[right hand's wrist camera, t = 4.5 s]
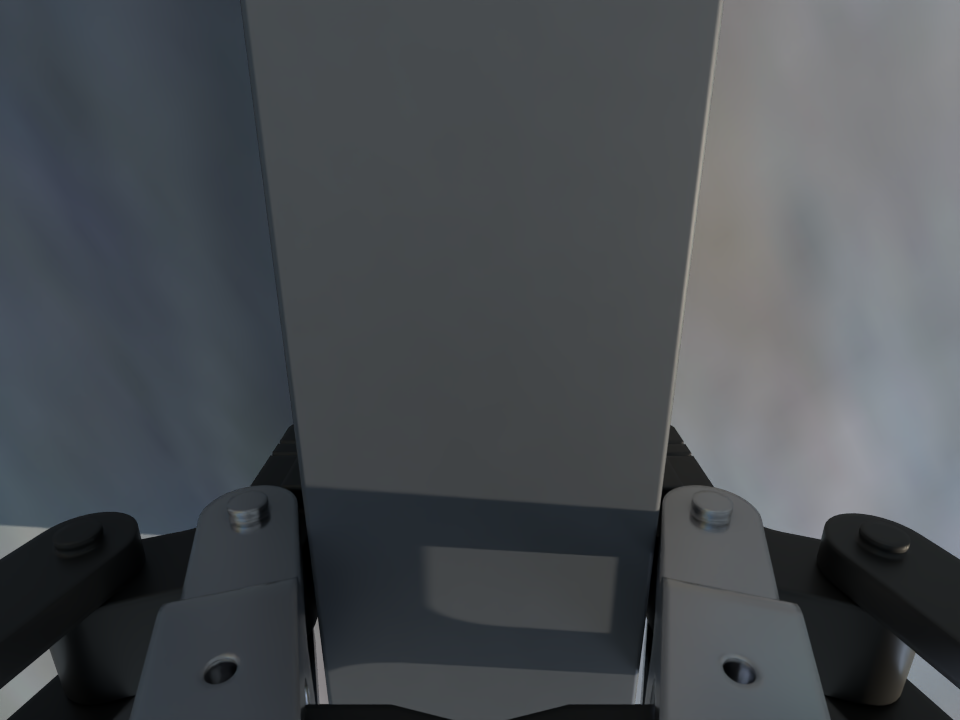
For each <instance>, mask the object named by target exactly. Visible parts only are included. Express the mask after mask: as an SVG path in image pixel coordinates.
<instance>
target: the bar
mask: <svg viewBox="0 0 960 720" xmlns="http://www.w3.org/2000/svg"><path fill="white" fill-rule="evenodd" d="M240 3H241V11H242V19H243V27H244V35H245V43H246V50H247V58H248V66H249V74H250V82H251V90H252V98H253V106H254V114H255V122H256V130H257V138H258V146H259V154H260V162H261V169H262V177H263V185H264V193H265V201H266V209H267V217H268V225H269V233H270V241H271V249H272V257H273V265H274V273H275V280H276V288H277V296H278V304H279V312H280V320H281V328H282V336H283V344H284V352H285V360H286V368H287V376H288V384H289V392H290V399H291V407H292V415H293V423H294V431H295V439H296V447H297V455H298V463H299V471H300V479H301V487H302V495H303V503H304V511H305V518H306V526H307V534H308V542H309V550H310V558H311V566H312V574H313V582H314V590H315V598H316V606H317V614H318V622H319V629H320V637H321V645H322V653H323V661H324V669H325V677H326V685H327V693H328V701H329V704H392V705H396V706H400V707H404V708H408V709H412V710H416V711H420V712H424V713H428V714H432V715H436V716H440V717H444V718H448V719H452V720H508V719H512V718H516V717H520V716H524V715H528V714H532V713H536V712H540V711H544V710H548V709H552V708H556V707H560V706H564V705H568V704H635V698H636V691H637V683H638V675H639V667H640V659H641V651H642V643H643V635H644V628H645V620H646V612H647V604H648V596H649V588H650V580H651V573H652V565H653V557H654V549H655V541H656V533H657V525H658V517H659V510H660V502H661V494H662V486H663V478H664V470H665V462H666V454H667V447H668V439H669V431H670V423H671V415H672V407H673V399H674V391H675V384H676V376H677V368H678V360H679V352H680V344H681V336H682V329H683V321H684V313H685V305H686V297H687V289H688V281H689V273H690V266H691V258H692V250H693V242H694V234H695V226H696V218H697V210H698V203H699V195H700V187H701V179H702V171H703V163H704V155H705V147H706V140H707V132H708V124H709V116H710V108H711V100H712V92H713V85H714V77H715V69H716V61H717V53H718V45H719V37H720V29H721V22H722V14H723V6H724V0H240Z"/></svg>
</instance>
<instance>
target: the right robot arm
mask: <svg viewBox="0 0 960 720" xmlns="http://www.w3.org/2000/svg"><path fill="white" fill-rule="evenodd" d="M683 442H684V441H683V440H682V438H681V437H680V435H679V434H678V432H677V431H676V429H675V428H674V427H673V426H671V425H670V431H669V439H668V447H667V454H666V462H665V470H664V478H663V486H662V494H661V502H660V510H659V517H658V525H657V533H656V541H655V549H654V557H653V565H652V573H651V580H650V588H649V596H648V604H647V612H646V617H647V626H646V634H645V642H644V657H643V673H642V689H641V704H568V705H564V706H560V707H556V708H552V709H548V710H544V711H540V712H536V713H532V714H528V715H524V716H520V717H516V718H512V719H508V720H953V719H952V718H951V717H950V716H948V715H947V714H946V713H945V712H944V711H943V710H942V709H940V708H939V707H938V706H937V705H936V704H935V703H934V702H933V701H931V700H930V699H929V698H928V697H927V696H926V695H925V694H924V693H922V692H921V691H920V690H919V689H918V688H917V687H916V686H914V685H913V684H912V683H911V682H910V681H909V680H908V679H907V676H908V673H909V670H910V667H911V664H912V661H913V658H914V656H915V653H917V654H918V655H919V656H920V657H922V658H923V659H924V660H925V661H926V662H928V663H929V664H930V665H931V666H932V667H934V668H935V669H936V670H937V671H938V672H940V673H941V674H942V675H943V676H945V677H946V678H947V679H948V680H949V681H951V682H952V683H953V684H954V685H955V686H957V687H958V688H959V689H960V559H958V558H957V557H955V556H953V555H952V554H950V553H949V552H947V551H946V550H944V549H942V548H941V547H939V546H938V545H936V544H935V543H933V542H931V541H930V540H928V539H927V538H925V537H923V536H922V535H920V534H919V533H917V532H915V531H913V530H912V529H910V528H907V527H905V526H903V525H901V524H898V523H896V522H893V521H890V520H887V519H884V518H880V517H876V516H872V515H866V514H856V513H849V514H840V515H837V516H834V517H832V518H830V519H829V520H828V521H827V522H826V524H825V526H824V530H823V534H822V538H821V540H820V539H815V538H810V537H805V536H800V535H795V534H789V533H784V532H780V531H776V530H772V529H769V528H765V527H763V523H762V519H761V516H760V514H759V513H758V511H757V510H756V509H755V508H754V507H753V506H752V505H751V504H750V503H749V502H747V501H746V500H745V499H743V498H741V497H740V496H737V495H735V494H733V493H731V492H728V491H726V490H722V489H719V488H715V487H714V486H713V485H712V483H711V482H710V480H709V479H708V477H707V476H706V474H705V473H704V471H703V470H702V468H701V467H700V465H699V464H698V462H697V461H696V459H695V458H694V456H691V452H690V450H689V449H688V447H687V446H686V444H684V443H683ZM317 617H318V614H317V606H316V598H315V590H314V582H313V574H312V566H311V558H310V550H309V542H308V534H307V526H306V518H305V511H304V503H303V495H302V487H301V479H300V471H299V463H298V455H297V447H296V439H295V431H294V424H293V425H292V426H290V427H289V428H288V430H287V431H286V433H285V434H284V436H283V437H282V439H281V440H280V444H278V445H277V446H276V448H275V450H274V451H273V455H272V456H270V457H269V459H268V460H267V462H266V463H265V465H264V466H263V468H262V469H261V471H260V472H259V474H258V475H257V477H256V478H255V480H254V482H253V483H252V485H251V486H250V487H245V488H241V489H238V490H234V491H232V492H229V493H227V494H225V495H223V496H220V497H219V498H217V499H215V500H214V501H213V502H211V503H210V504H209V505H208V506H207V507H206V508H205V509H204V510H203V511H202V513H201V514H200V516H199V519H198V523H197V528H194V529H190V530H186V531H181V532H176V533H171V534H166V535H161V536H156V537H151V538H146V539H141V536H140V532H139V528H138V524H137V522H136V520H135V519H134V518H133V517H131V516H130V515H127V514H124V513H119V512H100V513H93V514H88V515H84V516H80V517H77V518H73V519H70V520H68V521H65V522H63V523H60V524H58V525H56V526H54V527H52V528H50V529H48V530H46V531H45V532H43V533H41V534H40V535H38V536H37V537H35V538H33V539H32V540H30V541H29V542H27V543H25V544H24V545H22V546H21V547H19V548H18V549H16V550H14V551H13V552H11V553H10V554H8V555H7V556H5V557H3V558H2V559H0V689H1V688H2V687H3V686H5V685H6V684H7V683H8V682H9V681H11V680H12V679H13V678H14V677H15V676H17V675H18V674H19V673H20V672H22V671H23V670H24V669H25V668H26V667H28V666H29V665H30V664H31V663H32V662H34V661H35V660H36V659H37V658H38V657H40V656H41V655H42V654H43V653H44V652H46V651H47V650H48V649H50V652H51V655H52V658H53V661H54V664H55V667H56V669H57V672H58V675H57V676H56V677H55V678H53V679H52V680H51V681H50V682H49V683H48V684H47V685H46V686H44V687H43V688H42V689H41V690H40V691H39V692H38V693H36V694H35V695H34V696H33V697H32V698H31V699H30V700H29V701H27V702H26V703H25V704H24V705H23V706H22V707H21V708H20V709H18V710H17V711H16V712H15V713H14V714H13V715H12V716H10V717H9V718H8V719H7V720H452V719H448V718H444V717H440V716H436V715H432V714H428V713H424V712H420V711H416V710H412V709H408V708H404V707H400V706H396V705H392V704H319V688H318V673H317V657H316V642H315V634H314V626H315V623H316V620H317Z"/></svg>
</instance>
